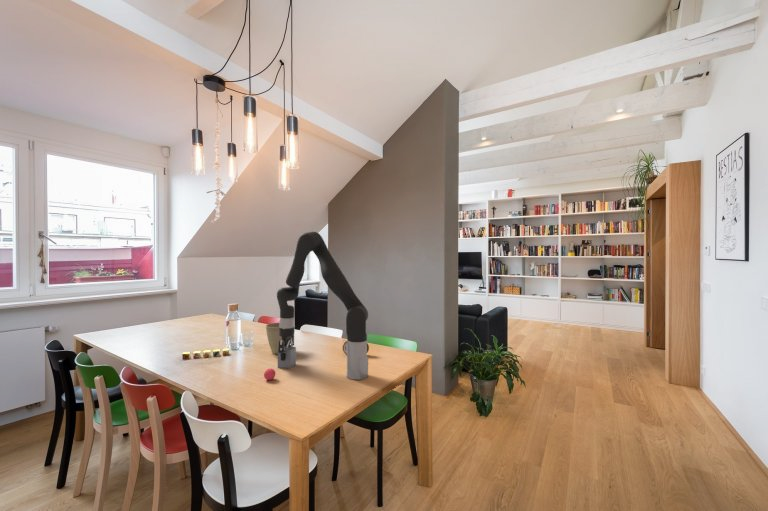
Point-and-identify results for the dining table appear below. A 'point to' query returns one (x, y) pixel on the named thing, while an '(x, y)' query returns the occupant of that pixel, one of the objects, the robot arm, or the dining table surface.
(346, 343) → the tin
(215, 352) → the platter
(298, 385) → the dining table surface
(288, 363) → the matte grey cube
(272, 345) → the plant pot
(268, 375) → the ball
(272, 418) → the dining table surface
